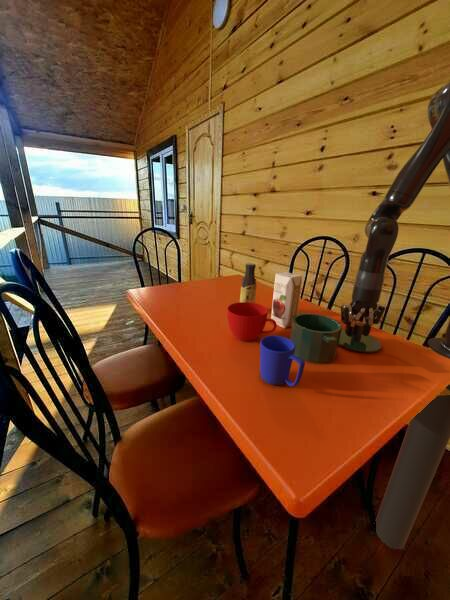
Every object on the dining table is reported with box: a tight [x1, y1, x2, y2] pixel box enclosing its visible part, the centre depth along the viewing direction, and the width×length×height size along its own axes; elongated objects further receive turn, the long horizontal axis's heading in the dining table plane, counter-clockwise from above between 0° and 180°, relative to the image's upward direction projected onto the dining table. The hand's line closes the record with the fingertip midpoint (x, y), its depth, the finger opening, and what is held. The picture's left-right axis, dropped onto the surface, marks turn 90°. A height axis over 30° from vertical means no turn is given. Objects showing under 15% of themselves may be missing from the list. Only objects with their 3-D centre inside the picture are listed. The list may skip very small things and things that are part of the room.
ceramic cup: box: [226, 301, 278, 342], centre depth 82 cm, size 13×17×10 cm
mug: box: [259, 335, 306, 387], centre depth 61 cm, size 8×12×10 cm
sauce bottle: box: [239, 262, 257, 303], centre depth 104 cm, size 6×6×20 cm
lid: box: [338, 321, 382, 353], centre depth 82 cm, size 15×15×7 cm
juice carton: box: [270, 271, 303, 329], centre depth 93 cm, size 8×9×19 cm
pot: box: [289, 311, 343, 364], centre depth 76 cm, size 14×19×10 cm
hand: (356, 335), depth 82 cm, fingers open, 5 cm apart
